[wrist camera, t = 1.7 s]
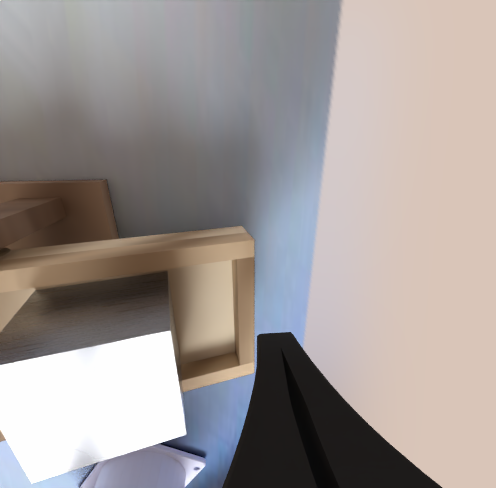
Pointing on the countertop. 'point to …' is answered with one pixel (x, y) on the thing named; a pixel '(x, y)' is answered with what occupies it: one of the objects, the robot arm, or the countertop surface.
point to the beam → (181, 286)
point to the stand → (55, 213)
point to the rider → (90, 374)
